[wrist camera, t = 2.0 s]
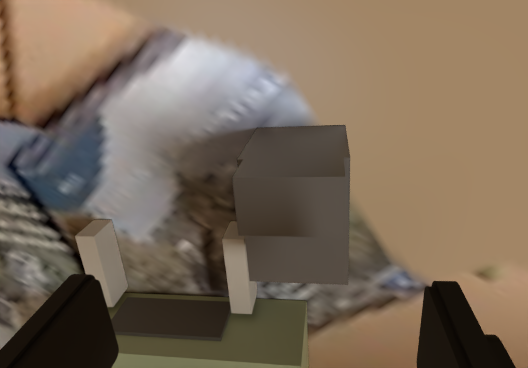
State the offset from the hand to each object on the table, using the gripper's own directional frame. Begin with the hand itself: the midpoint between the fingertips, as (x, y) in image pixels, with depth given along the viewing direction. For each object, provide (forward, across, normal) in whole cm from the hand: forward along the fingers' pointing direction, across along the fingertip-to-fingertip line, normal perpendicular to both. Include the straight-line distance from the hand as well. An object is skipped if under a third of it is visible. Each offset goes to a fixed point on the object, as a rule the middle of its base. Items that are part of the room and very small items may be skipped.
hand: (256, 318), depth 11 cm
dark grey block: (+11, -1, 0) cm, 11 cm away
